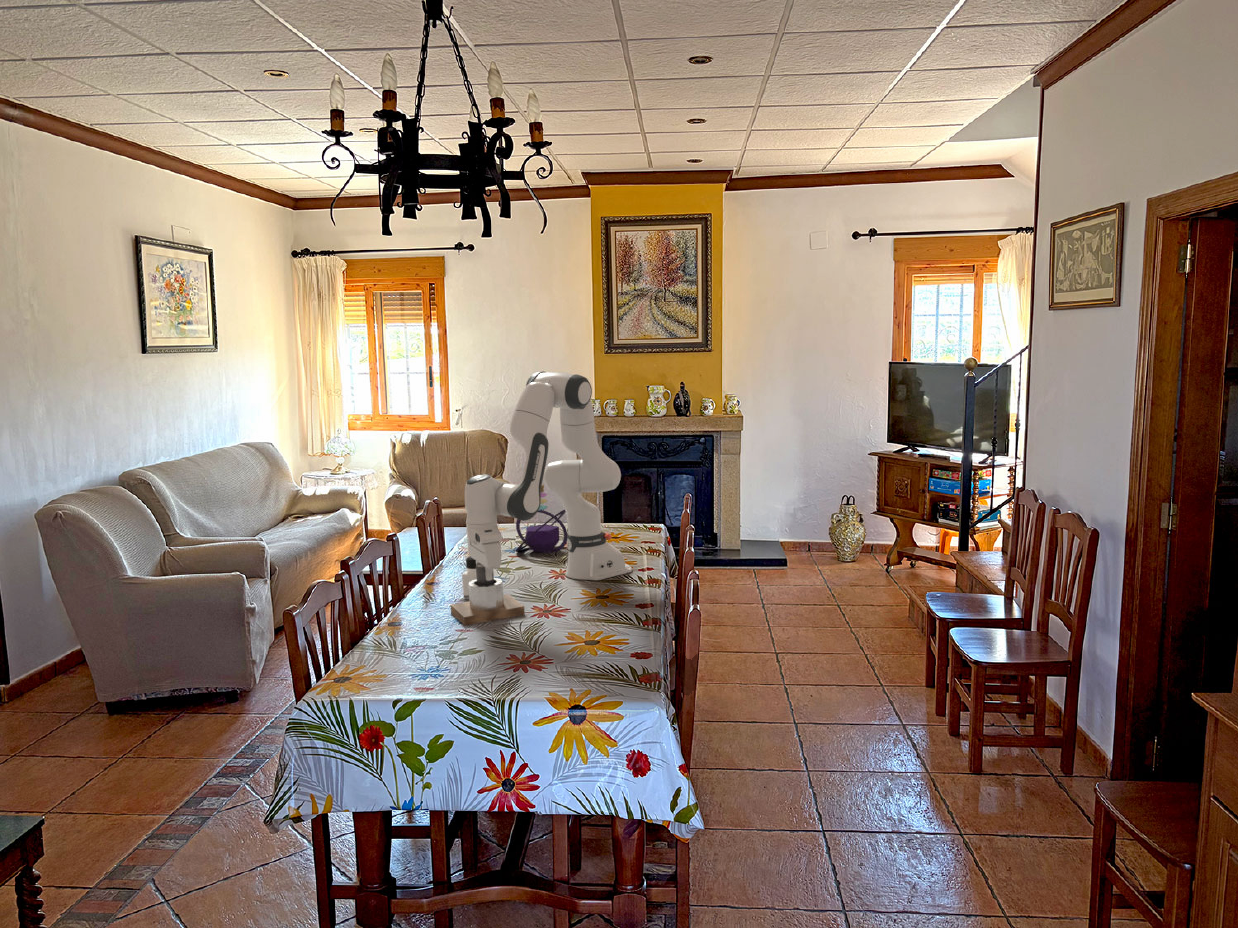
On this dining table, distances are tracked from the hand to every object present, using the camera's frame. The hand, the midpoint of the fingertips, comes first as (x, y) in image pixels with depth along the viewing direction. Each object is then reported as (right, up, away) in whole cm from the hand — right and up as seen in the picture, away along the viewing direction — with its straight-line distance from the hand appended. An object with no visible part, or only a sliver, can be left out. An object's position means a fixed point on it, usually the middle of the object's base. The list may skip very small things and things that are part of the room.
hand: (485, 577), depth 258 cm
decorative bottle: (+10, 0, +75) cm, 76 cm away
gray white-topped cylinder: (0, -2, 0) cm, 2 cm away
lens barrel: (0, -8, +1) cm, 8 cm away
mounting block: (0, -11, +2) cm, 11 cm away
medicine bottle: (-6, -8, +23) cm, 25 cm away
